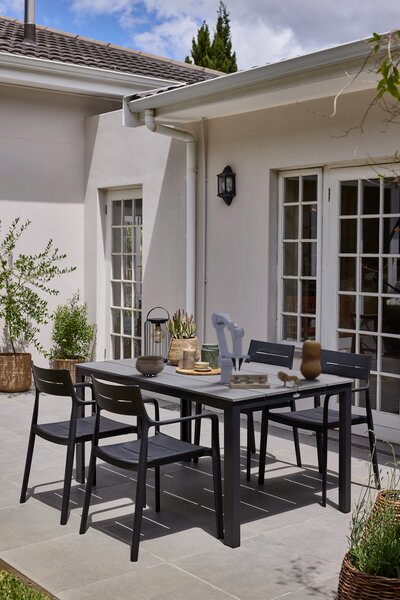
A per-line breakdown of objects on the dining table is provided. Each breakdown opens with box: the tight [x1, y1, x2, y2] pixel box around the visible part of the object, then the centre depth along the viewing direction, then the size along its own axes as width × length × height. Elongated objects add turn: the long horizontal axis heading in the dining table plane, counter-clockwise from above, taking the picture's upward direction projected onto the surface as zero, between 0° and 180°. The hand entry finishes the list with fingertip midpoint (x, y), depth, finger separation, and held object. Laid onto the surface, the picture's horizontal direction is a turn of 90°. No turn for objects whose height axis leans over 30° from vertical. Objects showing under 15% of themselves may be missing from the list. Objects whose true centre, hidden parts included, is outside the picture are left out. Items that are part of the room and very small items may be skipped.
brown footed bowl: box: [135, 354, 165, 377], centre depth 517 cm, size 25×19×12 cm
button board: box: [229, 374, 271, 389], centre depth 476 cm, size 14×23×6 cm, turn 92°
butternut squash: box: [299, 339, 322, 381], centre depth 502 cm, size 14×13×25 cm
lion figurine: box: [277, 370, 303, 388], centre depth 476 cm, size 15×5×9 cm, turn 80°
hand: (237, 370), depth 475 cm, fingers closed
